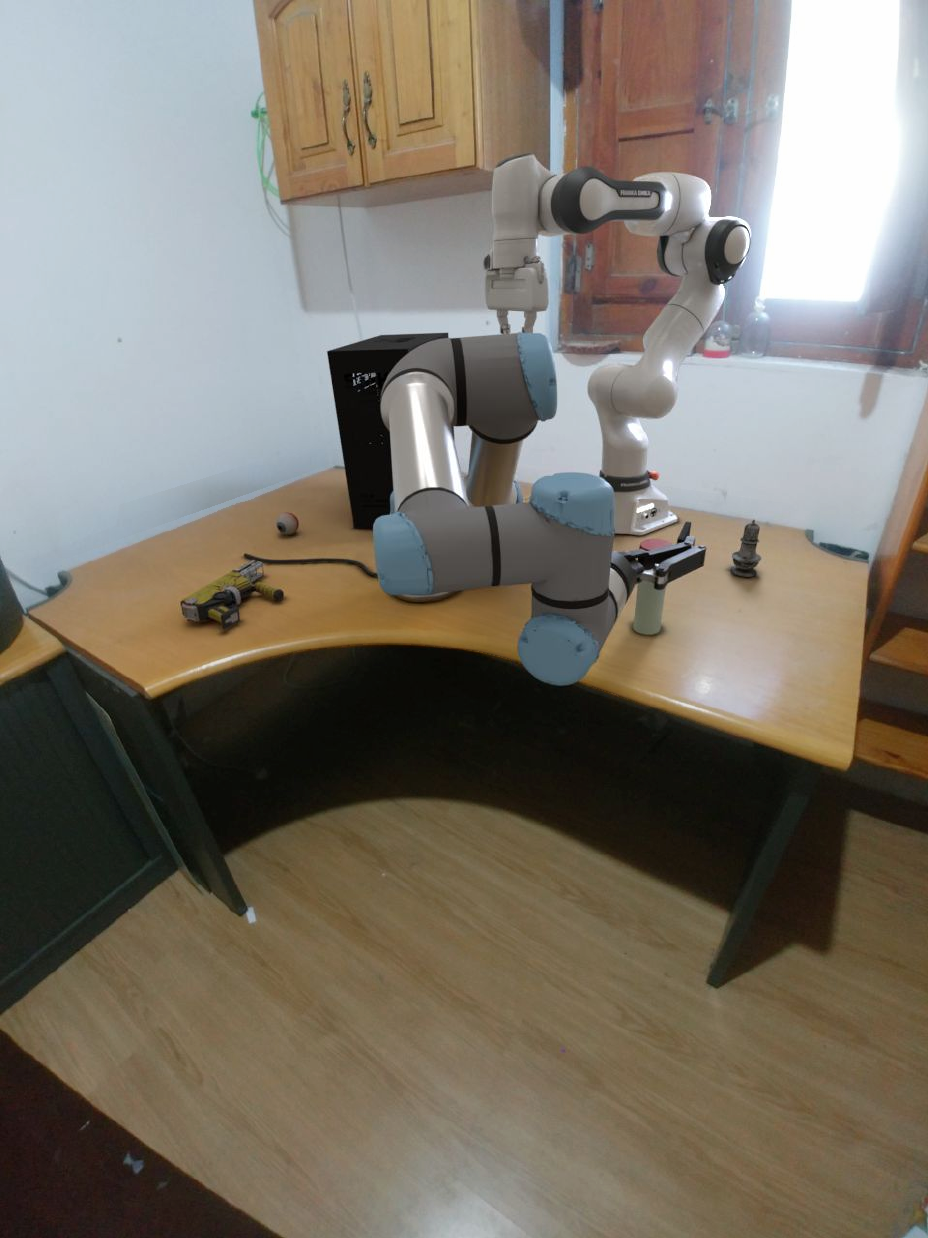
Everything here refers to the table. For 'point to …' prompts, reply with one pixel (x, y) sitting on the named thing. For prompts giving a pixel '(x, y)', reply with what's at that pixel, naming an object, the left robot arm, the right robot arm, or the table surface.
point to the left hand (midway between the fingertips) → (637, 525)
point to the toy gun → (227, 596)
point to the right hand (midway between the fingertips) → (516, 335)
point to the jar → (648, 608)
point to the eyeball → (287, 523)
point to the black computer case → (368, 418)
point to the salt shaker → (747, 552)
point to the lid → (653, 544)
